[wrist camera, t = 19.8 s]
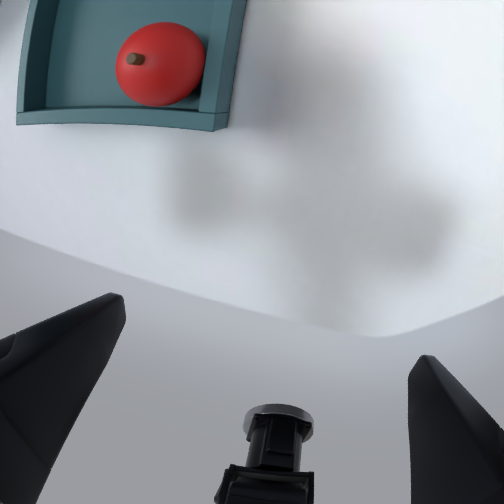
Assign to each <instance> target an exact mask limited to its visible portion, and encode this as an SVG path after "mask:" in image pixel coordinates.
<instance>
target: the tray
mask: <svg viewBox="0 0 504 504" xmlns="http://www.w3.org/2000/svg"><path fill="white" fill-rule="evenodd" d="M246 1H247V0H31V2H30V6H29V10H28V15H27V20H26V25H25V31H24V36H23V43H22V50H21V57H20V66H19V76H18V89H17V109H16V112H17V114H16V125H33V124H65V123H92V124H126V125H144V126H158V127H171V128H181V129H191V130H201V131H209V132H214V131H217V130H220V129H223V128H226V127H227V121H228V114H229V107H230V100H231V93H232V86H233V79H234V73H235V66H236V60H237V53H238V47H239V41H240V35H241V29H242V23H243V17H244V12H245V6H246ZM157 22H172V23H177V24H180V25H183V26H185V27H187V28H189V29H190V30H192V31H193V32H194V33H195V34H196V35H197V36H198V37H199V39H200V40H201V42H202V44H203V46H204V48H205V52H206V59H205V66H204V72H203V78H202V80H201V82H200V83H199V85H198V86H197V88H196V89H195V90H194V91H193V92H192V93H191V94H190V95H189V96H187V97H186V98H184V99H183V100H181V101H179V102H177V103H174V104H171V105H167V106H162V107H153V106H146V105H143V104H140V103H138V102H135V101H134V100H132V99H131V98H130V97H128V96H127V95H126V94H125V93H124V92H123V90H122V89H121V87H120V85H119V83H118V81H117V78H116V71H115V66H116V59H117V55H118V53H119V50H120V48H121V47H122V45H123V43H124V42H125V41H126V40H127V38H128V37H129V36H130V35H132V34H133V33H134V32H135V31H137V30H138V29H140V28H142V27H144V26H146V25H149V24H153V23H157Z"/></svg>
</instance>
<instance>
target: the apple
mask: <svg viewBox="0 0 504 504" xmlns="http://www.w3.org/2000/svg"><path fill="white" fill-rule="evenodd" d="M205 59H206V52H205V48H204V46H203V44H202V42H201V40H200V39H199V37H198V36H197V35H196V34H195V33H194V32H193V31H192V30H190V29H189V28H187V27H185V26H183V25H180V24H177V23H172V22H157V23H153V24H149V25H146V26H144V27H142V28H140V29H138V30H137V31H135V32H134V33H133V34H132V35H130V36H129V37H128V38H127V40H126V41H125V42H124V43H123V45H122V47H121V48H120V50H119V53H118V55H117V59H116V66H115V71H116V78H117V81H118V83H119V85H120V87H121V89H122V90H123V92H124V93H125V94H126V95H127V96H128V97H130V98H131V99H132V100H134V101H135V102H138V103H140V104H143V105H146V106H153V107H162V106H167V105H171V104H174V103H177V102H179V101H181V100H183V99H184V98H186V97H187V96H189V95H190V94H191V93H192V92H193V91H194V90H195V89H196V88H197V86H198V85H199V83H200V82H201V80H202V78H203V72H204V66H205Z"/></svg>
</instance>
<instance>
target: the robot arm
mask: <svg viewBox="0 0 504 504" xmlns="http://www.w3.org/2000/svg"><path fill="white" fill-rule="evenodd" d="M125 321H126V313H125V305H124V299H123V297H122V296H121V295H118V294H115V293H107V294H105V295H103V296H100V297H98V298H95V299H93V300H91V301H88V302H86V303H84V304H82V305H79V306H77V307H74V308H72V309H70V310H67V311H65V312H63V313H60V314H58V315H56V316H53V317H51V318H49V319H46V320H44V321H42V322H40V323H37V324H35V325H33V326H30V327H28V328H26V329H24V330H21V331H19V332H17V333H16V334H12V335H10V336H8V337H5V338H3V339H1V340H0V504H36V502H37V500H38V497H39V495H40V493H41V491H42V489H43V486H44V484H45V482H46V480H47V478H48V476H49V474H50V471H51V468H52V467H53V465H54V463H55V461H56V459H57V457H58V455H59V452H60V450H61V448H62V446H63V444H64V442H65V440H66V438H67V437H68V435H69V432H70V431H71V429H72V427H73V425H74V423H75V421H76V419H77V417H78V415H79V413H80V412H81V410H82V408H83V406H84V404H85V402H86V400H87V399H88V397H89V395H90V393H91V391H92V390H93V388H94V386H95V384H96V382H97V381H98V379H99V377H100V375H101V374H102V372H103V370H104V368H105V367H106V365H107V363H108V361H109V358H110V356H111V354H112V352H113V349H114V347H115V345H116V342H117V340H118V338H119V336H120V333H121V331H122V329H123V327H124V324H125ZM311 428H312V423H311V422H309V421H301V420H294V419H288V418H282V417H276V416H270V415H265V414H259V413H255V414H254V415H253V418H252V422H251V425H250V428H249V431H248V435H247V439H246V440H247V441H248V442H250V447H249V452H248V457H247V462H246V466H245V467H243V466H236V465H234V464H230V467H229V469H225V473H224V477H223V480H222V483H221V485H220V487H219V489H218V491H217V493H216V495H215V497H214V502H215V503H216V504H313V503H314V472H299V470H300V460H301V448H302V442H303V441H304V439H305V438H306V436H307V434H308V433H309V431H310V430H311ZM408 429H409V443H410V462H411V504H504V430H503V429H502V428H500V426H499V425H498V424H497V423H496V422H495V420H494V419H493V418H492V417H491V416H490V415H489V414H488V413H487V412H486V410H485V409H484V408H483V407H482V406H481V405H480V404H479V403H478V402H477V401H476V400H475V399H474V397H473V396H472V395H471V394H470V393H469V392H468V391H467V390H466V389H465V388H464V387H463V386H462V385H461V384H460V382H459V381H458V380H457V379H456V378H455V377H454V376H453V375H452V374H451V373H450V372H449V371H448V370H447V369H446V368H445V367H444V366H443V365H442V364H441V363H440V362H439V361H438V360H437V359H436V358H435V357H434V356H431V355H430V356H429V355H422V356H421V357H420V358H419V359H418V361H417V362H416V364H415V366H414V367H413V369H412V370H411V372H410V374H409V377H408Z"/></svg>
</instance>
